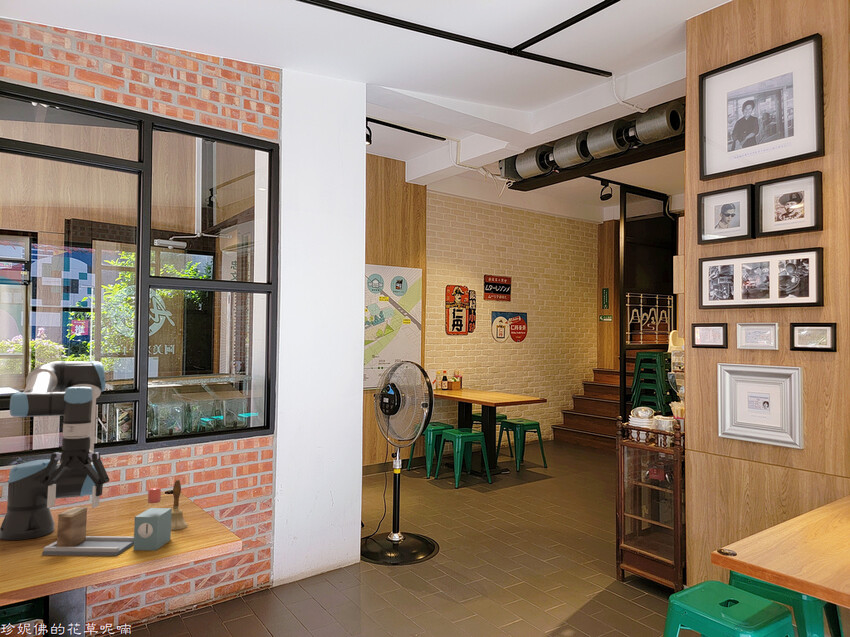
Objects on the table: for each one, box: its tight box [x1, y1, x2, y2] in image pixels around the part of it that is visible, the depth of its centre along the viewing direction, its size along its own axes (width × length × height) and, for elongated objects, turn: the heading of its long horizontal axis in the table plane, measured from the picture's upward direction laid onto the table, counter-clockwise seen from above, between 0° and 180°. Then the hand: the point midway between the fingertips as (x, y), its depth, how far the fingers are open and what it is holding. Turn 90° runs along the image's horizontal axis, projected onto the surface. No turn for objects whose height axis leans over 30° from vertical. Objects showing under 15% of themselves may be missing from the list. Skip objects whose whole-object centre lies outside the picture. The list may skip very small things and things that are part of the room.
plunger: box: [147, 487, 162, 504], centre depth 182 cm, size 4×4×4 cm
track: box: [41, 535, 134, 557], centre depth 177 cm, size 22×12×2 cm, turn 90°
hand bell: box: [171, 479, 189, 531], centre depth 201 cm, size 8×8×16 cm
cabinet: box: [133, 507, 173, 551], centre depth 181 cm, size 7×11×10 cm, turn 0°
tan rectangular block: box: [56, 506, 88, 547], centre depth 178 cm, size 4×8×10 cm, turn 0°
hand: (73, 506), depth 178 cm, fingers open, 13 cm apart
